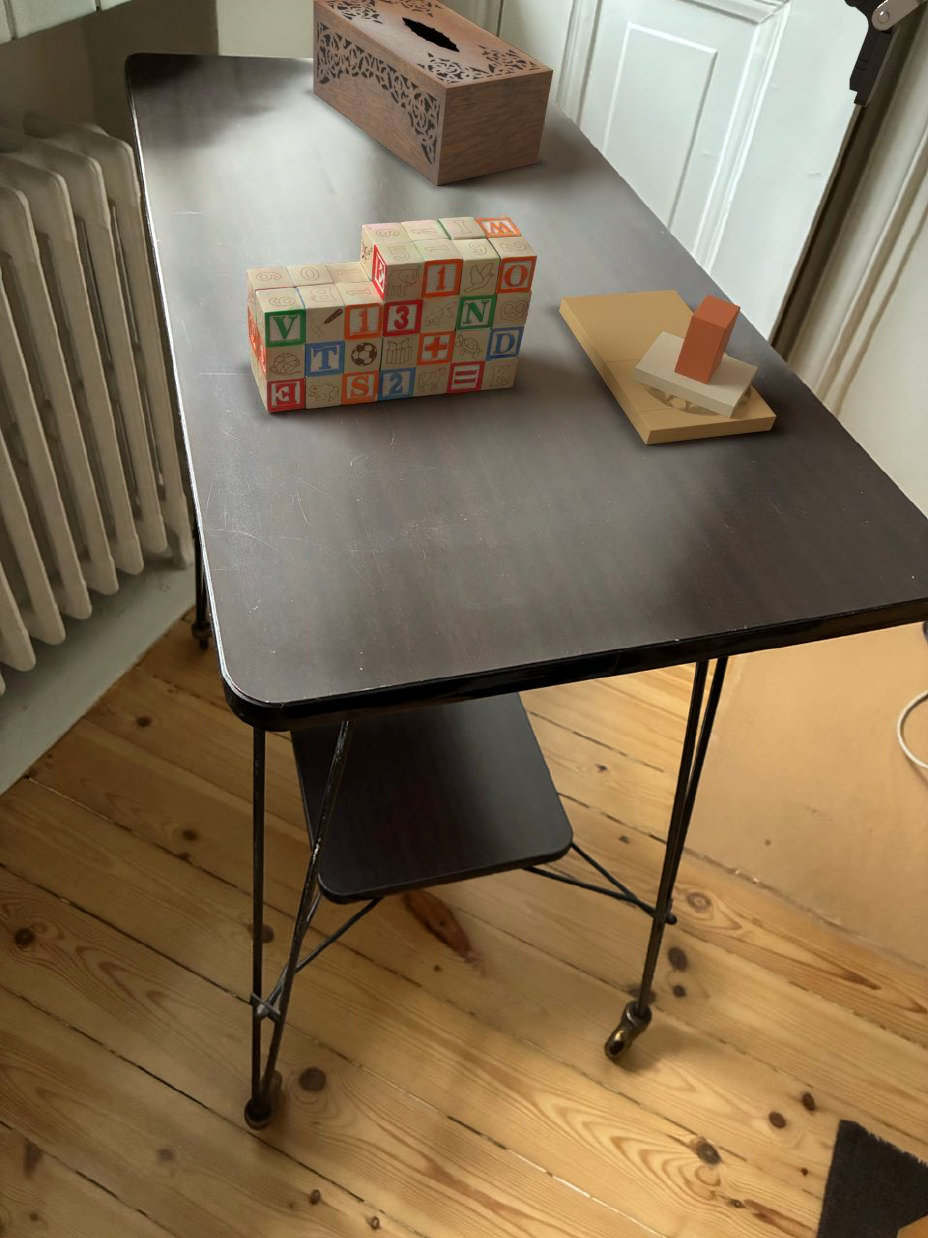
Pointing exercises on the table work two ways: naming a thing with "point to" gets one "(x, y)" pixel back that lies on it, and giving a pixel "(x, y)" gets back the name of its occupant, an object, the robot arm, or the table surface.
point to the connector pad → (688, 388)
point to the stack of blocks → (394, 316)
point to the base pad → (622, 338)
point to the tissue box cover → (430, 85)
